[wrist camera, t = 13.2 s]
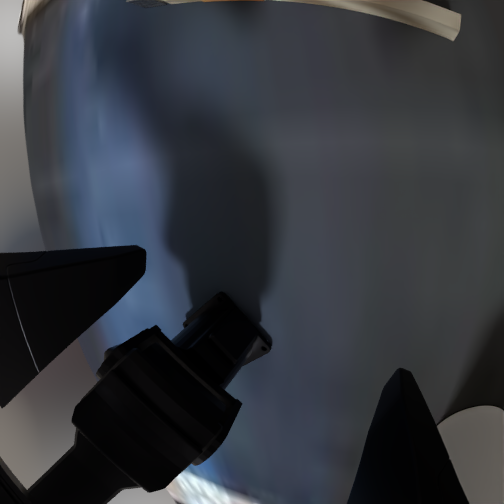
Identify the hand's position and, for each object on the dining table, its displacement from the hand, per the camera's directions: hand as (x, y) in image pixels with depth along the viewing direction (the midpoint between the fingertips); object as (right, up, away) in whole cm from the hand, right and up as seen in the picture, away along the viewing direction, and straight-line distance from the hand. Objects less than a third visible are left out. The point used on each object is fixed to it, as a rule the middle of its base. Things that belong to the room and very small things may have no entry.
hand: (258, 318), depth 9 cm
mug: (+22, -16, +10) cm, 29 cm away
